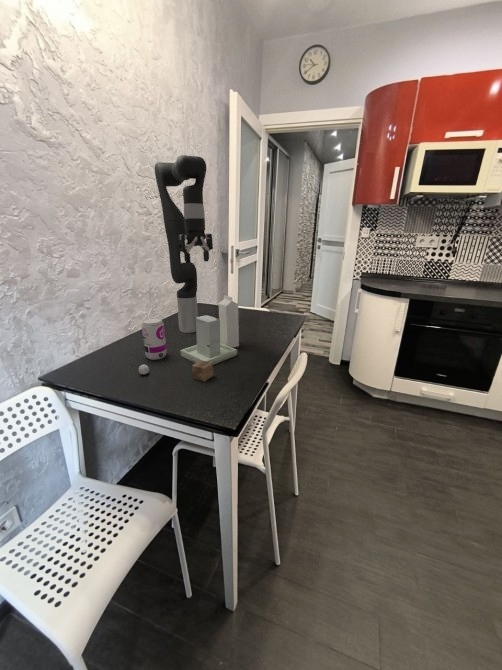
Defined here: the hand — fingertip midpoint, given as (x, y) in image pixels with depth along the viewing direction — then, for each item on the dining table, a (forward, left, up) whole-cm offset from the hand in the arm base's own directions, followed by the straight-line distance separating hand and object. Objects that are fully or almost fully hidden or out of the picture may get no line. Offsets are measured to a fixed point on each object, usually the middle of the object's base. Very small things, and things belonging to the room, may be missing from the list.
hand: (197, 262), depth 118 cm
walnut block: (+21, -16, -36) cm, 45 cm away
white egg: (+4, -29, -34) cm, 45 cm away
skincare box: (+8, -3, -35) cm, 36 cm away
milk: (+6, +10, -36) cm, 38 cm away
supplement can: (-7, -18, -36) cm, 41 cm away
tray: (+8, -3, -36) cm, 37 cm away
